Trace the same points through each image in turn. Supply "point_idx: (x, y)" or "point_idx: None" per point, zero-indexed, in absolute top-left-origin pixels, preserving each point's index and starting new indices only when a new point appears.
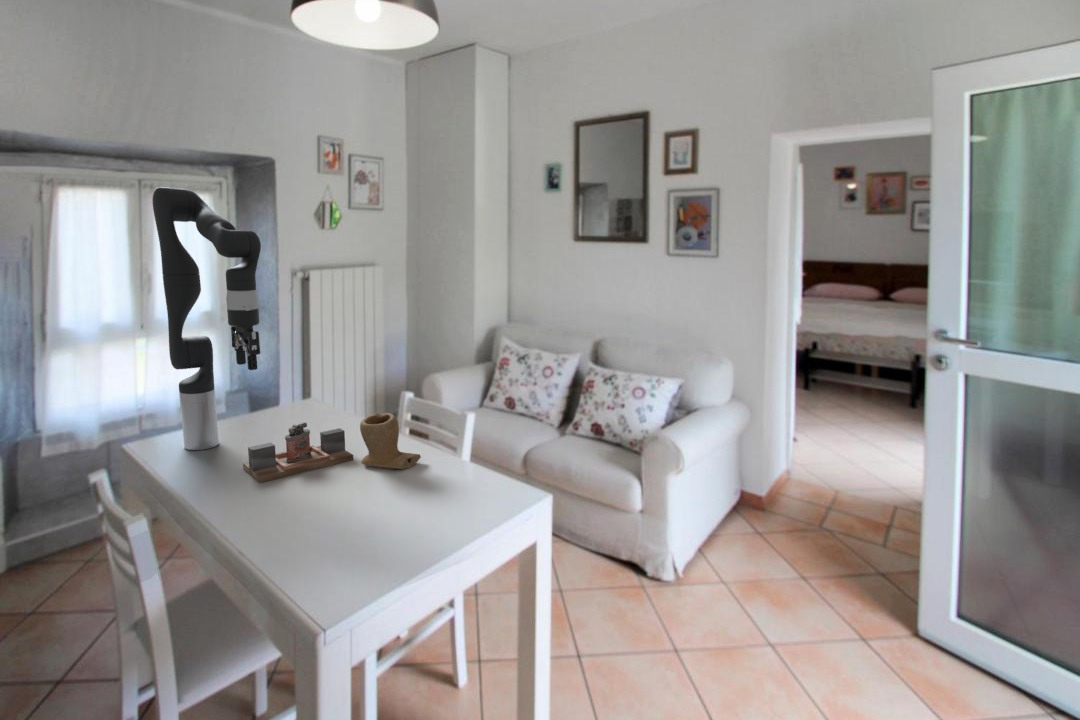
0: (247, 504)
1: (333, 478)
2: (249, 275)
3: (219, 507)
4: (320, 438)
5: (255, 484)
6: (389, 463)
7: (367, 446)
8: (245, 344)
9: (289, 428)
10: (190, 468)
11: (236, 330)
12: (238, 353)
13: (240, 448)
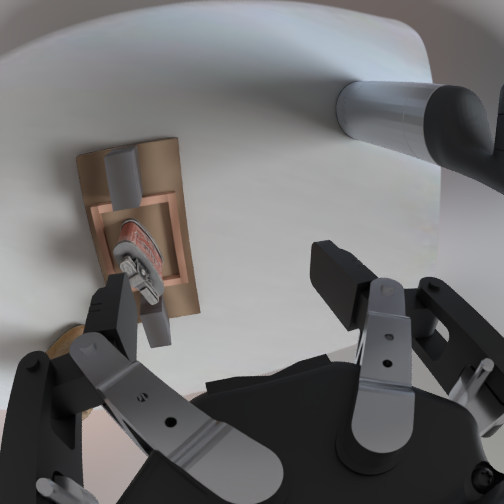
0: (3, 124)
1: (49, 271)
2: None
3: (14, 80)
4: (161, 303)
5: (76, 144)
6: (51, 352)
7: (66, 352)
8: (117, 413)
9: (126, 263)
10: (244, 51)
11: (443, 434)
12: (348, 284)
13: (302, 162)
